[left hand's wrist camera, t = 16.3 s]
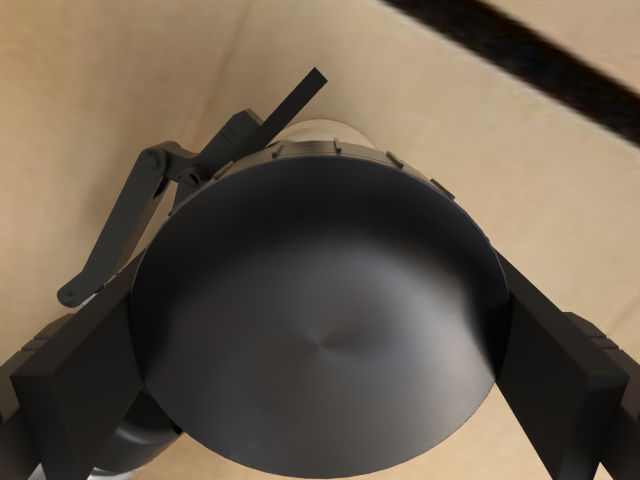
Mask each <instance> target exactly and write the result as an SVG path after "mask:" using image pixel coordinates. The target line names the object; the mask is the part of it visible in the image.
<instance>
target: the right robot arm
mask: <svg viewBox="0 0 640 480" xmlns="http://www.w3.org/2000/svg"><path fill="white" fill-rule="evenodd" d="M326 83H327V80H326V79H325V77H324V76H323V75H322V74H321V73H320V72H319V71H318V70H317V69H316V68H315V67H314V68H313V69H312V70H311V72H310V73H309V74H308V75H307V76H306V77H305V78H304V79H303V80H302V81H301V82H300V84H299V85H298V86H297V87H296V88H295V89H294V90H293V91H292V92H291V93H290V94H289V96H288V97H287V98H286V99H285V100H284V101H283V102H282V103H281V104H280V105H279V106H278V107H277V109H276V110H275V111H274V112H273V113H272V114H271V115H270V116H269V117H268V118H267V119H266V121H265V122H263V121H262V120H261V119H260V118H259V117H258V116H257V115H256V114H255V113H254V112H253V111H252V110H251V109H247V110H244V111H242V112H239V113H237V114H235V115H233V116H232V118H231V119H230V120H229V121H228V122H227V123H226V124H225V126H224V127H223V128H222V129H221V130H220V131H219V132H218V133H217V134H216V136H215V137H214V138H213V139H212V140H211V141H210V142H209V143H208V145H207V146H206V147H205V148H204V149H203V150H202V151H201V153H192V152H189V151H187V150H185V149H183V148H181V146H180V145H178V144H177V143H176V142H173V141H166V142H164V143H161V144H158V145H155V146H153V147H150V148H147V149H145V150H143V151H142V152H141V154H140V155H139V157H138V159H137V161H136V163H135V165H134V167H133V169H132V171H131V173H130V175H129V177H128V179H127V181H126V183H125V185H124V187H123V190H122V192H121V194H120V196H119V198H118V200H117V202H116V204H115V206H114V208H113V210H112V212H111V214H110V216H109V218H108V220H107V222H106V224H105V226H104V228H103V230H102V232H101V234H100V236H99V238H98V240H97V242H96V244H95V246H94V248H93V250H92V252H91V254H90V256H89V258H88V261H87V263H86V265H85V267H84V269H83V271H82V272H81V273H79V274H78V275H77V276H76V277H74V278H73V279H72V280H71V281H69V282H68V283H67V284H66V285H64V286H63V287H62V288H61V289H59V291H58V292H57V298H58V300H59V302H60V303H61V304H62V305H64V306H66V307H69V308H75V307H77V306H79V305H80V304H82V305H83V306H84V305H86V304H87V303H88V302H89V301H90V300H91V299H92V298H93V297H94V296H95V295H96V294H97V293H98V292H99V291H100V290H102V289H103V288H104V287H105V286H106V285H107V284H108V283H109V282H110V281H111V280H112V279H113V278H114V277H115V276H116V275H117V274H119V273H117V272H118V271H119V270H121V269H122V268H123V266H124V265H125V264H126V263H127V261H128V260H129V258H130V257H131V255H132V253H133V251H134V249H135V247H136V245H137V244H138V242H139V240H140V238H141V236H142V234H143V232H144V231H145V229H146V227H147V225H148V223H149V221H150V219H151V217H152V216H153V214H154V212H155V210H156V208H157V206H158V204H159V202H160V201H161V199H162V197H163V195H164V193H165V191H166V189H167V188H168V186H169V184H170V182H171V180H173V181H175V182H178V187H177V192H176V196H175V200H174V205H173V209H174V208H175V207H176V206H178V205H179V204H180V203H181V202H182V201H184V200H185V199H186V198H187V197H188V196H189V195H191V194H192V193H193V194H194V193H195V192H197V191H198V190H199V189H200V188H201V187H202V186H204V185H205V184H206V183H207V182H208V181H210V180H211V179H212V178H213V176H214V175H215V174H216V173H217V172H218V171H220V170H221V169H222V168H223V167H224V166H225V165H227V164H228V163H229V162H231V161H233V163H235V162H237V161H239V160H241V159H242V158H244V157H246V156H249V155H251V154H254V153H256V152H259V151H261V150H263V149H264V148H265V147H266V146H267V145H268V144H269V143H270V142H271V141H272V140H273V139H274V138H275V137H276V136H277V135H278V134H279V132H280V131H281V130H282V129H283V128H284V127H285V126H286V125H287V124H288V123H289V122H290V121H291V120H292V119H293V118H294V117H295V115H296V114H297V113H298V112H299V111H300V110H301V109H302V108H303V107H304V106H305V105H306V104H307V103H308V102H309V101H310V100H311V98H312V97H313V96H314V95H315V94H316V93H317V92H318V91H319V90H320V89H321V88H322V87H323V86H324V85H325V84H326ZM173 209H172V210H173ZM184 433H185V431H184V430H183V429H181V428H180V427H179V426H178V425H177V424H176V423H175V422H174V421H173V420H172V419H171V418H170V417H169V416H168V415H167V414H166V412H165V411H164V410H163V409H162V408H161V407H160V405H159V404H158V402H157V401H156V400H155V398H154V397H153V395H152V394H151V392H150V391H149V389H148V387H147V385H146V383H145V382H144V384H143V386H142V387H141V389H140V391H139V392H138V394H137V396H136V397H135V399H134V401H133V403H132V404H131V406H130V408H129V409H128V411H127V413H126V414H125V416H124V418H123V420H122V421H121V423H120V425H119V426H118V428H117V430H116V431H115V433H114V435H113V437H112V438H111V440H110V442H109V443H108V445H107V447H106V448H105V450H104V452H103V453H102V455H101V457H100V459H99V460H98V462H97V464H96V465H95V467H94V469H93V470H92V472H91V474H90V476H89V477H88V479H87V480H130V479H131V478H132V477H134V476H135V475H136V474H137V473H139V472H140V471H141V470H142V469H143V468H144V467H145V466H146V465H147V464H148V463H149V462H151V461H152V460H153V459H154V458H156V457H157V456H158V455H159V454H160V453H161V452H163V451H164V450H165V449H166V448H167V447H169V446H170V445H171V444H172V443H173V442H174V441H176V440H177V439H178V438H179V437H180V436H182V435H183V434H184ZM28 480H46V477H45V474H44V472H43V469H42V466H41V463H40V464H39V465H38V467H37V468H36V469H35V471H34V472H33V473H32V475H31V476H30V478H29V479H28Z"/></svg>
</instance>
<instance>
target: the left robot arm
mask: <svg viewBox="0 0 640 480" xmlns="http://www.w3.org/2000/svg"><path fill="white" fill-rule="evenodd" d="M146 248H147V247H146ZM146 248H145V249H144V250H143V251H142V252H141V253H140V254H139V255H138V256H137V257H136V258H135V259H133V260H132V261H131V262H130V263H129V264H128V265H127V266H126V267H125V268H124V269H123V270H122V271H121V272H120V273H119V274H117V275H116V276H115V277H114V278H113V279H112V280H111V281H110V282H109V283H108V284H107V285H106V286H105V287H104V288H103V289H102V290H100V291H99V292H98V293H97V294H96V295H95V296H94V297H93V298H92V299H91V300H90V301H89V302H88V303H87V304H86V305H84V306H83V307H82V308H81V309H80V310H79V311H78V312H77V313H69V314H67V315H65V316H63V317H61V318H59V319H58V320H56V321H54V322H52V323H50V324H48V325H47V326H46V327H45V328H44V329H43V330H42V331H40V332H39V333H38V334H37V335H36V336H35V337H34V340H30V341H29V342H28V343H27V344H26V345H25V346H23V347H22V348H21V351H18V352H17V353H15V354H14V355H13V356H12V357H11V358H10V359H9V360H8V361H6V362H5V363H4V364H3V365H2V366H1V367H0V480H28V479H29V478H30V476H31V475H32V473H33V472H34V471H35V469H36V468H37V467H38V465H39V464H40V463H41V466H42V469H43V472H44V474H45V477H46V480H87V479H88V477H89V476H90V474H91V472H92V470H93V469H94V467H95V465H96V464H97V462H98V460H99V459H100V457H101V455H102V453H103V452H104V450H105V448H106V447H107V445H108V443H109V442H110V440H111V438H112V437H113V435H114V433H115V431H116V430H117V428H118V426H119V425H120V423H121V421H122V420H123V418H124V416H125V414H126V413H127V411H128V409H129V408H130V406H131V404H132V403H133V401H134V399H135V397H136V396H137V394H138V392H139V391H140V389H141V387H142V386H143V384H144V382H145V381H144V379H143V377H142V375H141V373H140V371H139V368H138V365H137V363H136V359H135V355H134V351H133V346H132V341H131V336H130V331H129V303H130V295H131V288H132V284H133V281H134V278H135V274H136V271H137V268H138V265H139V263H140V261H141V259H142V257H143V255H144V253H145V250H146ZM493 249H494V250H495V252H496V254H497V257H498V259H499V262H500V264H501V266H502V269H503V271H504V274H505V278H506V282H507V286H508V290H509V295H510V306H511V328H510V335H509V340H508V345H507V349H506V354H505V359H504V362H503V365H502V367H501V370H500V372H499V375H498V377H497V379H496V381H495V383H496V384H497V386H498V388H499V389H500V391H501V393H502V394H503V396H504V398H505V400H506V401H507V403H508V405H509V406H510V408H511V410H512V411H513V413H514V415H515V417H516V418H517V420H518V422H519V423H520V425H521V427H522V428H523V430H524V432H525V434H526V435H527V437H528V439H529V440H530V442H531V444H532V445H533V447H534V449H535V451H536V452H537V454H538V456H539V457H540V459H541V461H542V462H543V464H544V466H545V467H546V469H547V471H548V473H549V474H550V476H551V478H552V479H553V480H593V479H594V476H595V474H596V471H597V468H598V465H599V462H601V463H602V465H603V466H604V468H605V469H606V470H607V472H608V473H609V474H610V476H611V477H612V478H613V480H640V365H639V364H638V363H637V362H636V361H634V360H633V359H632V358H631V357H630V356H629V355H628V354H626V353H625V352H624V351H623V350H619V347H618V346H617V345H616V344H615V343H614V342H613V341H612V340H611V339H607V338H606V335H605V334H604V333H603V332H601V331H600V330H599V329H598V328H597V327H596V326H595V325H593V324H592V323H591V322H589V321H587V320H585V319H583V318H581V317H580V316H578V315H576V314H574V313H572V312H562V311H561V310H560V309H558V308H557V307H556V306H555V305H554V304H553V303H552V302H551V301H550V300H549V299H548V298H547V297H546V296H545V295H544V294H542V293H541V292H540V291H539V290H538V289H537V288H536V287H535V286H534V285H533V284H532V283H531V282H530V281H529V280H528V279H527V278H525V277H524V276H523V275H522V274H521V273H520V272H519V271H518V270H517V269H516V268H515V267H514V266H513V265H512V264H511V263H509V262H508V261H507V260H506V259H505V258H504V257H503V256H502V255H501V254H500V253H499V252H498V251H497V250H496V249H495V248H493Z"/></svg>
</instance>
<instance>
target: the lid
mask: <svg viewBox="0 0 640 480" xmlns="http://www.w3.org/2000/svg"><path fill="white" fill-rule="evenodd" d="M454 198H455V197H454V196H453V195H452V194H451V193H450V192H449V191H447V190H446V189H445V188H444V187H443V186H441V185H440V184H439V183H438V182H436V181H435V180H434V179H433V178H432V179H431V180H429V179H428V178H426V177H425V176H424V175H423V174H422V173H420V172H419V171H417V170H416V169H414V168H413V167H411V166H410V165H408V164H406V163H405V162H403V161H401V160H399V159H398V158H396V157H395V156H394V155H393V154H392V153H391V152H389V151H387V153H384V152H382V151H379V150H375V149H372V148H369V147H365V146H362V145H358V144H352V143H346V142H339V140H338V138H334V141H317V140H311V141H302V142H293V143H287V144H283V142H279V143H278V144H277V146H275V147H271V148H267V149H264V150H261V151H259V152H256V153H254V154H251V155H249V156H246V157H244V158H242V159H241V160H239V161H237V162H235V163H233V161H231V162H229V163H228V164H227V165H225V166H224V167H223V168H222V169H221V170H220V171H218V172H217V173H216V174H215V175H214V176H213V178H212V179H211V180H210V181H208V182H207V183H206V184H205V185H204V186H202V187H201V188H200V189H199V190H198V191H197V192H195V193H194V194H193V193H192V194H191V195H189V196H188V197H187V198H186V199H185V200H184V201H182V202H181V203H180V204H179V205H178V206H176V207H175V208H174V209H173V210H172V211H171V212H170V213H169V214H168V215H169V216H170V217H169V218H168V219H167V220H166V221H165V222H164V223H163V224H162V226H161V227H160V229H159V230H158V231H157V233H156V234H155V236H154V237H153V239H152V240H151V242H150V243H149V244H148V246H147V248H146V250H145V253H144V255H143V257H142V259H141V261H140V263H139V265H138V268H137V271H136V274H135V278H134V281H133V284H132V288H131V295H130V303H129V331H130V336H131V341H132V346H133V351H134V355H135V359H136V363H137V365H138V368H139V371H140V373H141V375H142V377H143V379H144V381H145V383H146V385H147V387H148V389H149V391H150V392H151V394H152V395H153V397H154V398H155V400H156V401H157V402H158V404H159V405H160V407H161V408H162V409H163V410H164V411H165V412H166V414H167V415H168V416H169V417H170V418H171V419H172V420H173V421H174V422H175V423H176V424H177V425H178V426H179V427H180V428H181V429H183V430H184V431H185V432H186V433H187V434H188V435H189V436H191V437H192V438H193V439H195V440H196V441H198V442H199V443H201V444H202V445H204V446H205V447H206V448H208V449H210V450H212V451H214V452H215V453H217V454H219V455H221V456H223V457H225V458H227V459H229V460H232V461H234V462H236V463H239V464H241V465H243V466H246V467H250V468H253V469H256V470H259V471H263V472H267V473H271V474H276V475H281V476H287V477H296V478H305V479H332V478H345V477H352V476H358V475H364V474H369V473H373V472H376V471H380V470H384V469H387V468H390V467H393V466H396V465H398V464H401V463H404V462H406V461H409V460H411V459H413V458H415V457H417V456H419V455H421V454H423V453H425V452H427V451H428V450H430V449H431V448H433V447H434V446H436V445H438V444H439V443H441V442H442V441H444V440H445V439H446V438H448V437H449V436H450V435H451V434H452V433H454V432H455V431H456V430H457V429H459V428H460V427H461V426H462V425H463V424H464V423H465V422H466V421H467V420H468V419H469V418H470V417H471V416H472V415H473V414H474V413H475V411H476V410H477V409H478V407H479V406H480V405H481V403H482V402H483V401H484V399H485V398H486V397H487V395H488V393H489V392H490V390H491V388H492V386H493V385H494V383H495V381H496V379H497V377H498V375H499V372H500V370H501V367H502V365H503V362H504V359H505V354H506V349H507V345H508V340H509V335H510V328H511V306H510V295H509V290H508V286H507V282H506V278H505V274H504V271H503V269H502V266H501V264H500V262H499V259H498V257H497V254H496V252H495V250H494V249H493V247H492V246H491V244H490V242H489V239H488V238H487V237H486V236H485V234H484V233H483V231H482V230H481V229H480V228H479V226H478V225H477V224H476V223H475V222H474V221H473V219H472V218H471V217H470V216H469V215H468V214H467V212H466V211H464V210H463V209H462V208H461V207H460V206H459V205H458V204H456V203H455V202H454V201H453V199H454Z"/></svg>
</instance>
